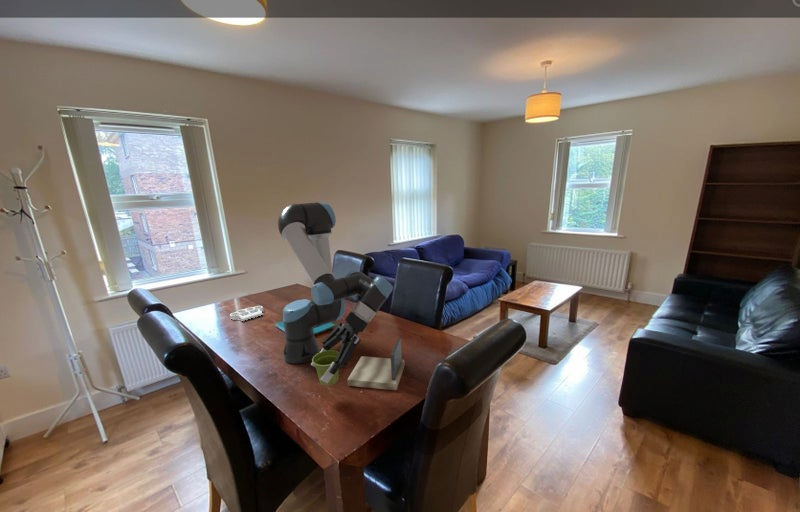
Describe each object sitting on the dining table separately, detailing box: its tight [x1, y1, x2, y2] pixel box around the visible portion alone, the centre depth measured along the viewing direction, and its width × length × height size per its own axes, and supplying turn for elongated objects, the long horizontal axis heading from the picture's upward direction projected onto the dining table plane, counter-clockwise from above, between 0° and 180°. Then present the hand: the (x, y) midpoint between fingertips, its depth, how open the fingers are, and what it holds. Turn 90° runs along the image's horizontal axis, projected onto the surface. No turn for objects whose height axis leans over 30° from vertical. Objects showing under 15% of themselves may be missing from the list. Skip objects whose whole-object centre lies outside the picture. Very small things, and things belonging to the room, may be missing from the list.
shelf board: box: [347, 356, 406, 391], centre depth 118 cm, size 18×16×2 cm
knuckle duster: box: [229, 305, 264, 322], centre depth 180 cm, size 3×18×15 cm
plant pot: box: [311, 349, 340, 387], centre depth 103 cm, size 9×9×9 cm
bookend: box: [390, 338, 402, 380], centre depth 115 cm, size 1×12×10 cm, turn 169°
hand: (318, 373), depth 102 cm, fingers closed on plant pot, 9 cm apart
